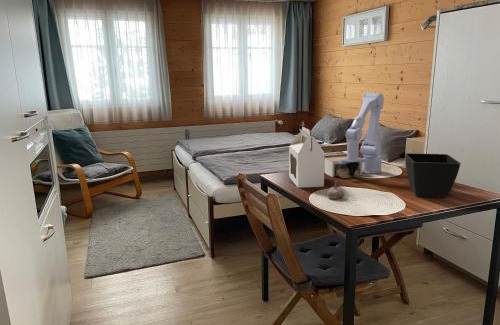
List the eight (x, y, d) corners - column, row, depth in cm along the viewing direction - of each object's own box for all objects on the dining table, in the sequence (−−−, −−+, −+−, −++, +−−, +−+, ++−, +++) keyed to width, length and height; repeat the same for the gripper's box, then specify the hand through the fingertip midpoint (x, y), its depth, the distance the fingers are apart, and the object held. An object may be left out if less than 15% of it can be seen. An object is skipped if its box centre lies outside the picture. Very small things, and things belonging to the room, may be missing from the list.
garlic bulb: (343, 195, 173) (343, 178, 171) (344, 200, 166) (345, 183, 164) (326, 195, 174) (326, 178, 173) (326, 200, 167) (327, 182, 166)
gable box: (289, 176, 208) (289, 126, 203) (312, 175, 210) (313, 125, 204) (297, 188, 187) (298, 131, 181) (324, 186, 188) (325, 130, 182)
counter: (353, 170, 220) (353, 155, 218) (362, 174, 210) (362, 159, 208) (324, 172, 215) (324, 158, 214) (332, 177, 206) (332, 161, 204)
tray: (350, 171, 216) (351, 163, 215) (360, 176, 206) (361, 167, 205) (331, 173, 213) (331, 164, 212) (340, 178, 203) (341, 168, 202)
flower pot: (457, 200, 163) (461, 162, 159) (411, 199, 166) (413, 161, 163) (444, 188, 181) (447, 153, 177) (402, 187, 184) (404, 153, 181)
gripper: (361, 149, 206) (360, 173, 209) (336, 150, 202) (335, 175, 205) (368, 151, 199) (367, 176, 202) (342, 153, 196) (342, 178, 198)
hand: (351, 176), depth 203 cm, fingers closed, pressing on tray
